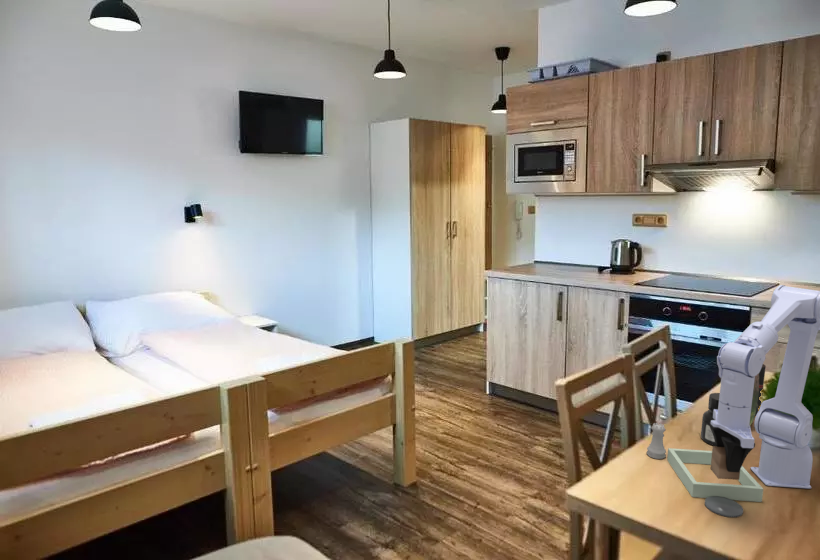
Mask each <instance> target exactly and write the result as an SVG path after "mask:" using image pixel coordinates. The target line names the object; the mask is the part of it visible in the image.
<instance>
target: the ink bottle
mask: <svg viewBox="0 0 820 560" xmlns="http://www.w3.org/2000/svg"><path fill="white" fill-rule="evenodd" d="M719 396H720V392H713V393H710V394H709V395H708V407H707V408H708V410H706V411H704V413H703V414H702V419H701V420H702V421H701V428H700V429H701V430H700V437H701V439H702V440H703V441H704V442H705V443H707V444H709V445H711V446H714V447H716V445H715V440H714V436H713V433H712V431H711V429H710V425H711V420H715V419H714V418H713V411H714V409H717V410H718V405H719Z"/></svg>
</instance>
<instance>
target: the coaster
mask: <svg viewBox="0 0 820 560" xmlns="http://www.w3.org/2000/svg"><path fill="white" fill-rule="evenodd" d="M704 506H705V508H706V509H707V510H709V512H711V513H714V514H716V515H718V516H721V517H726V518H739V517H742V515H743V514H744V507H743V506H742V505H741V504H740V503H738V502H737V501H736V500H731V499H728V498H725V497H720V496H710V497H707V498H704Z"/></svg>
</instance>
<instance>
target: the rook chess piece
mask: <svg viewBox="0 0 820 560" xmlns="http://www.w3.org/2000/svg"><path fill="white" fill-rule="evenodd" d="M651 430H652V432H651V435H652V437H651V441H650V443H649V445H648V446H647V447H646V450H647V451H646V454H647V455H648V457H649V458H652V459H654V460H663V459H665V458H666V457H667V449H665V445H664V437H665V434H664V432H666V428H665V425H664V424H663V423H660V422H654V423H653V424H652V426H651Z"/></svg>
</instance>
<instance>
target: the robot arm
mask: <svg viewBox="0 0 820 560" xmlns="http://www.w3.org/2000/svg"><path fill="white" fill-rule="evenodd" d="M786 325H788V327H789V329H790V330H789V336H788V340H787V345H786V348H785V351H784V352H785V354H784V357H783V361H782V365H781V369H780V374H779V378H778V383H777V388H776V392H775V395H774V397H772V398H769V399H766V400H763V401H762V402H761V406H760V409H759V411H758V413H757V415H756V417H754V420H753V422H754V423H753V425H754V429H755V432H756V433H757V434H758V439H761V446H760V453H759V463H758V464H759V465H758V466H751V467H750V470H751V471H752V472H753V473H754V474H755V475H756V476H757V477H758V479H760V481H761V482H762V483H763V484H764V485H765V486H769V487H770V486H771V487H783V488H795V489H796V488H797V489H808V490H809V489H812V486H811V485H810V483H811V475H812V469H813V460H814V459H813V458H814V457H813V452H812V450H811V448H810V446H809V445H808V444H809V443H810V441H811V438H812V434H813V419H814V418H813V416H814V415H813V414H812V413H811V412H810V411H809V409H807V407H806V406H804V404H803V403H802V399H803V394H804V390H805V386H806V382H807V378H808V374H809V373H808V372H809V369H810V364H811V362H812V361H811V360H812V357H813V352H814V348H815V343H816V340H817V336H818V332H819V331H820V290H815V289H808V288H803V287H801V288H800V287H793V286H788V285H787V286H786V285H784V284H779V285H778V286H777V287H776V288H775V289H774V290H773V293H772V294H771V298H770V308H769V310H768V311H767V312H766V313H765V315H764V316H763V318H762V319H761V320H760V321H754V322H752V323H750V324H749V326H747V328H745V330H743V332H741V333H740V335H739V336H738V337H737V338H736V339H734V341H729V342H727V343H723V345H722V346H721V347H720V348H719V350H718V355H717V356H716V364H717V366H718V367H717V368H718V376H719V378H720V386H719V387H720V388H719V393H720V396H719V405H718V410H717V409H714V411H713V418H714V419H715V420H711V425H710V429H711V431H712V433H713V436H714V440H715V445H716V446H715V447H725V452H726V468H727V471H728V472H739V471H740V469H741V467H742V466H743V464H744V462H745V460H746V459H747V457H748V455H749V454H750V452H751V451H752V450H753V449H755V448H756V442H755V438H754V436H753V434H752V429H751V425H749V424H750V415H751V406H752V398H753V389H754V380H755V376H756V375H757V374H758V373H759V372H760V370H761V368H762V365H763V364H764V363H765V360H766V355H767V354H768V353H769V351H770V350H771V349H772V348H773V347H774V346H775V345H776V344H777V343H778V340H779V332H780V331H781V330H782V329H784V327H786Z"/></svg>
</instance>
